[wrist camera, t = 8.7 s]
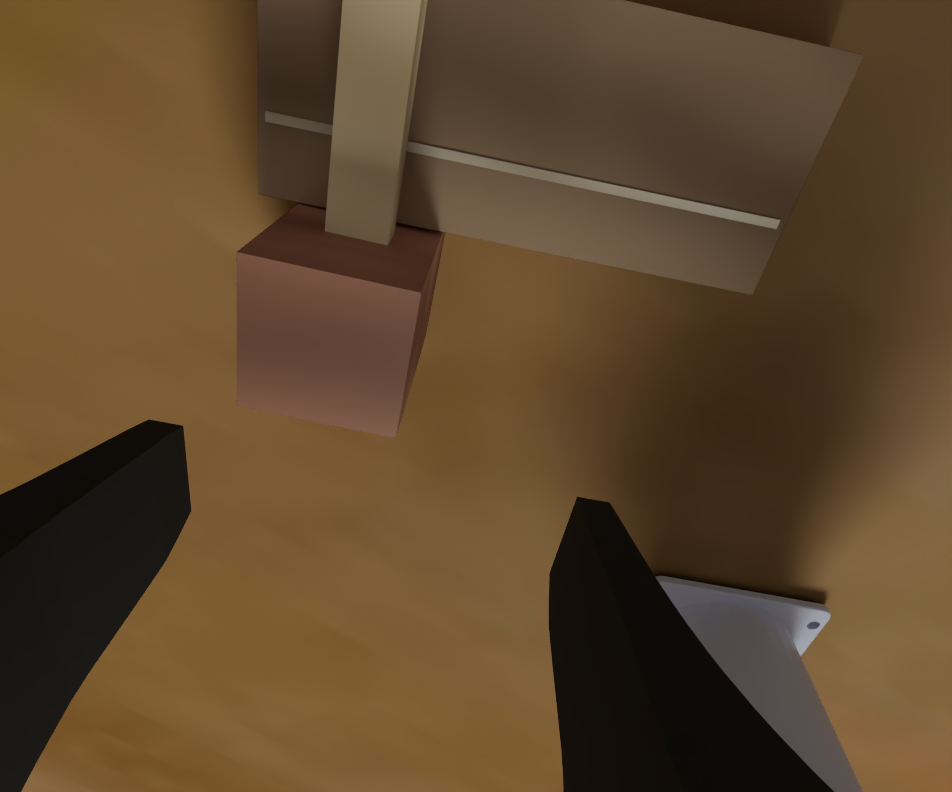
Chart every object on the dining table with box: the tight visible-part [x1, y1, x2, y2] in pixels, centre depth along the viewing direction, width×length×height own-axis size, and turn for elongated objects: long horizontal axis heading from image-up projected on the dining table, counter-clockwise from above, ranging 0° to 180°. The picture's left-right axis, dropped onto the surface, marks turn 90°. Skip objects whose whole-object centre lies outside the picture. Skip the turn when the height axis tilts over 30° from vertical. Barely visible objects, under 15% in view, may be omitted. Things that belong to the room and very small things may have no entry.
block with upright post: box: [237, 0, 445, 438], centre depth 15 cm, size 10×4×6 cm, turn 168°
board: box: [258, 0, 864, 295], centre depth 16 cm, size 6×14×2 cm, turn 79°
